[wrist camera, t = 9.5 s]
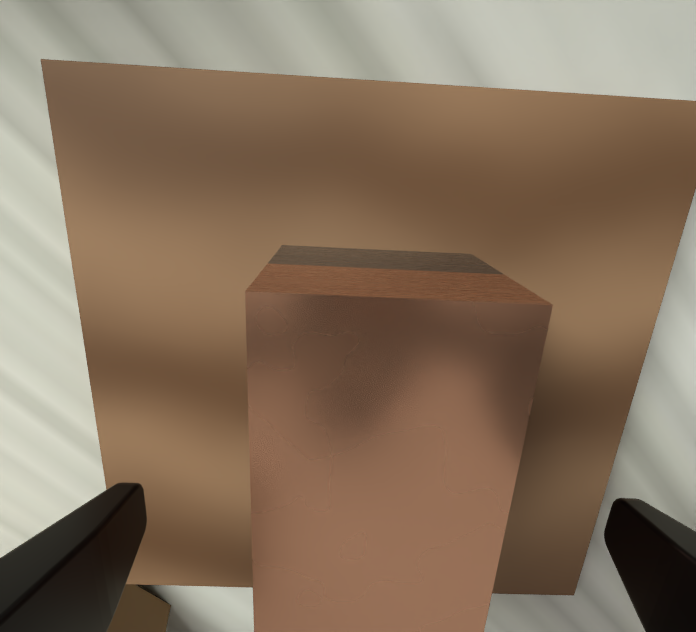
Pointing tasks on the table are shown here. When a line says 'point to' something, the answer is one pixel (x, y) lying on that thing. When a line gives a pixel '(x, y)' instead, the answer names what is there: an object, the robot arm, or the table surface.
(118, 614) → the photo frame
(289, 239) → the walnut stand
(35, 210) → the table surface
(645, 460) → the table surface
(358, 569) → the block
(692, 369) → the table surface
